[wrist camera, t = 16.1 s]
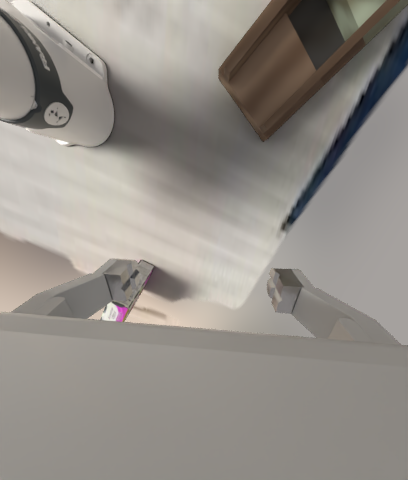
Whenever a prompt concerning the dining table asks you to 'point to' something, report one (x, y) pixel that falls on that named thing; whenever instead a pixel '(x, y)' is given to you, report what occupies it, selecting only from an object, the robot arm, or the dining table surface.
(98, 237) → the dining table surface
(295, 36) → the channel deck
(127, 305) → the candy bar box
